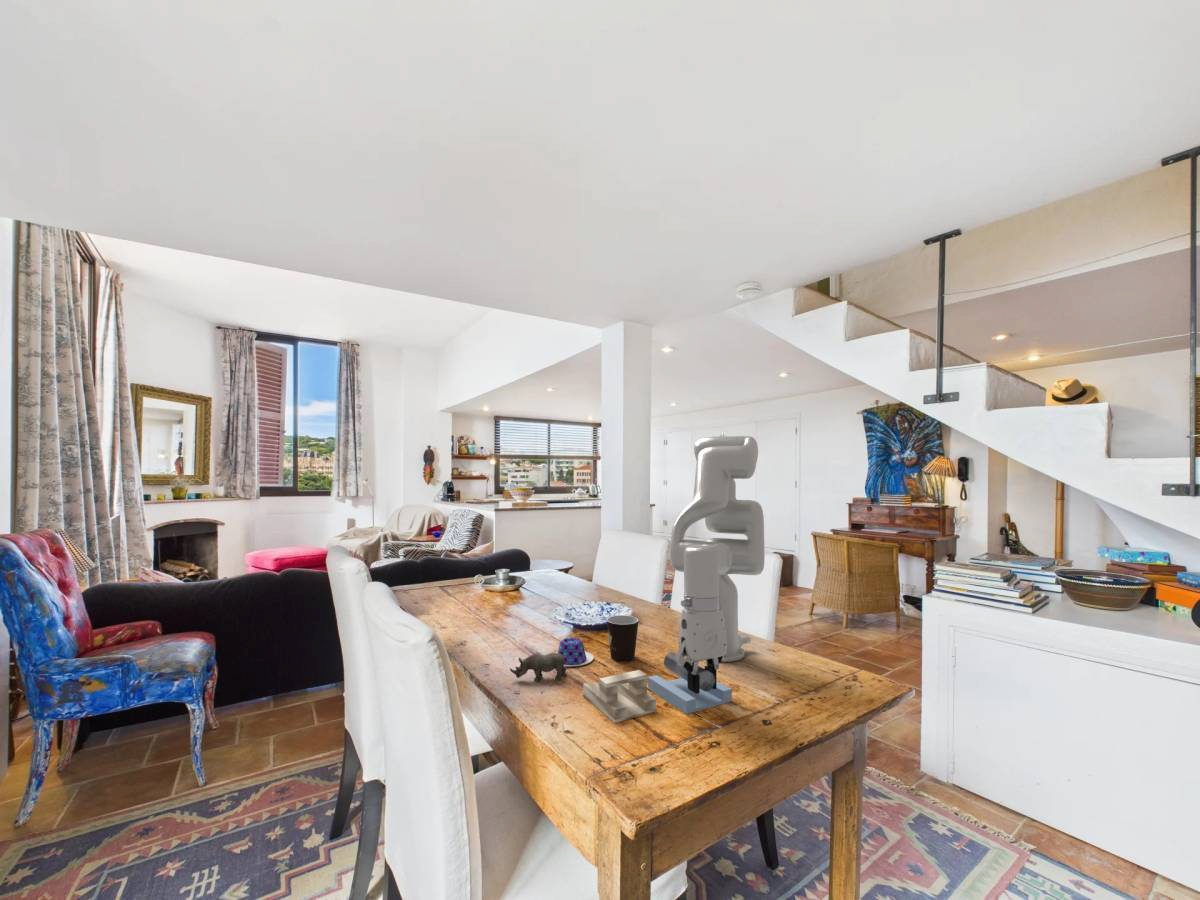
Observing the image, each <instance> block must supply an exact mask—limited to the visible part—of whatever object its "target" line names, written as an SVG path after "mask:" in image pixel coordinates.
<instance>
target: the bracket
mask: <svg viewBox="0 0 1200 900" xmlns="http://www.w3.org/2000/svg"><path fill="white" fill-rule="evenodd" d="M647 690H648V674H647V673H645V672H644V671H642V670H640V669H637V670H633V671H627V672H623V673H619V674H614V675H611V676H605V677H601V678H599V680H598V684H597V683H596V682H595V681H591V682H586V683H583V684H582V696H583V697H584V698H585V699H587V700H588V702H590V703H591V704H593V706H595V707H596V708H597V709H598V710H599V711H601V713H603V714H604V715H605V716H606V717H608V718H609V720H611V721H612V722H613V723H619V722H622V721H626V720H630V719H633V718H636V717H640V716H644V715H648V714H651V713H655V712H657V698H656V697H654V696H652V695H651V694H650V693H648V691H647Z"/></svg>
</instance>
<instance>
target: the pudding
mask: <svg viewBox="0 0 1200 900" xmlns="http://www.w3.org/2000/svg"><path fill="white" fill-rule="evenodd" d="M584 646H585V645H584V642H583V640H582V639H580V638H577V637H566V638H563V639H561V640H560V643H559V646H558V650H557V651H556V652H555V653H561V654H562V655H563V656H564V658H565V664H564V666H565V667H579V666H583V665H587V664H589V663H591V662H592V661H593V660H594V655H593V654H592V653H590V652H588V651H585V647H584Z"/></svg>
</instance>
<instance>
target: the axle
mask: <svg viewBox="0 0 1200 900" xmlns="http://www.w3.org/2000/svg"><path fill="white" fill-rule="evenodd" d="M676 655H677V653H676V652H674V651H670V652H668V653H667V654H666V655H665V657H664V660H663V665H664V668H665V669H666V670H668V671H670V672H672V673H673V674H675V675H677V676H678V677H680V678H683V679H685V680H686V681H687V671H686V670H685V668H684V667H683V666H682V665H680V664H679V663H677V662H675V657H676ZM684 659H685V660H686V657H684ZM692 663H693V661H692V662H691V665H692ZM704 668H705V667H702V666H700V665H698V670H697V674H699V679H700V681H699V685H700V689H702V690H703V691H706V692H707V691H710V690H711V689H712V688H713V686H714V683H715V677H714V675H713V674H712V673H711V672H709V671H707V670H705V669H704Z"/></svg>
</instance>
